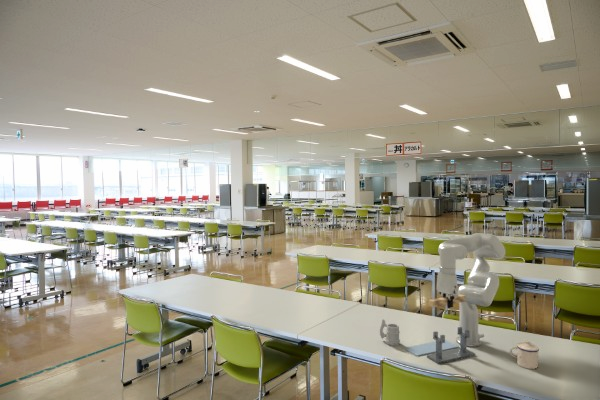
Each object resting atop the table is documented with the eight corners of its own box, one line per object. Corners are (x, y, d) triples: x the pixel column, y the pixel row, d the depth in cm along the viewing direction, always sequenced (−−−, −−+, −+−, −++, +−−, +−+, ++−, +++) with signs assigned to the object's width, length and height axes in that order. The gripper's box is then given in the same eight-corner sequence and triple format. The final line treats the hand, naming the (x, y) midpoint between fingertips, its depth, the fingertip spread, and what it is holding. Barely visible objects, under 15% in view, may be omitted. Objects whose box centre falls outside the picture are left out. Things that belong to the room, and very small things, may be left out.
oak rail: (460, 299, 201) (460, 294, 201) (465, 301, 198) (465, 295, 198) (428, 305, 191) (428, 299, 191) (433, 307, 189) (433, 301, 189)
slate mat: (445, 340, 214) (445, 339, 214) (458, 347, 204) (458, 346, 204) (403, 348, 203) (403, 347, 203) (416, 356, 194) (416, 355, 194)
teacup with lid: (539, 364, 185) (539, 340, 185) (537, 371, 178) (538, 346, 177) (511, 357, 192) (511, 334, 192) (508, 364, 185) (508, 340, 184)
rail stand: (463, 349, 202) (463, 325, 201) (475, 355, 194) (475, 330, 194) (426, 357, 192) (427, 331, 192) (438, 364, 185) (438, 337, 185)
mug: (396, 347, 204) (396, 325, 204) (376, 341, 212) (376, 320, 212) (402, 343, 210) (402, 321, 210) (383, 337, 218) (383, 316, 218)
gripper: (430, 268, 200) (429, 303, 201) (454, 274, 185) (454, 312, 186) (440, 266, 203) (440, 301, 204) (466, 273, 188) (465, 310, 189)
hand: (447, 306), depth 195 cm, fingers closed on oak rail, 3 cm apart
